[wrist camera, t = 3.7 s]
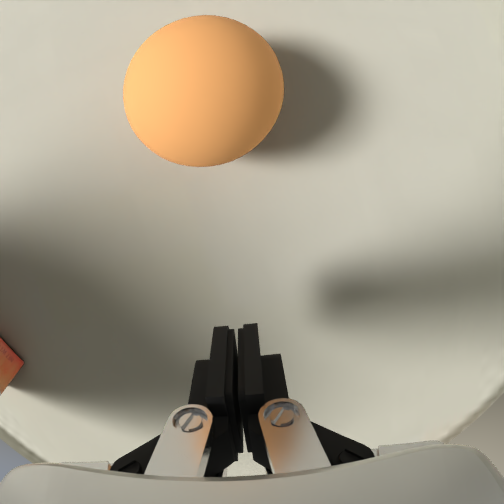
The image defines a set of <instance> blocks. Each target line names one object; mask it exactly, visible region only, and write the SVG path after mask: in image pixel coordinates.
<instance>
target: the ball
mask: <svg viewBox="0 0 504 504" xmlns="http://www.w3.org/2000/svg"><path fill="white" fill-rule="evenodd" d="M283 96H284V80H283V75H282V70H281V67H280V64H279V61H278V59H277V57H276V55H275V53H274V51H273V50H272V48H271V47H270V45H269V44H268V43H267V42H266V41H265V40H264V39H263V37H262V36H260V35H259V34H258V33H257V32H255V31H254V30H253V29H251V28H249V27H248V26H246V25H244V24H242V23H240V22H238V21H236V20H233V19H229V18H226V17H220V16H212V15H202V16H193V17H188V18H183V19H180V20H177V21H175V22H172V23H170V24H168V25H166V26H164V27H163V28H161V29H159V30H158V31H156V32H155V33H154V34H153V35H151V36H150V37H149V38H148V39H147V40H146V41H145V42H144V43H143V44H142V45H141V47H140V48H139V49H138V50H137V52H136V53H135V55H134V57H133V58H132V60H131V62H130V65H129V67H128V69H127V73H126V76H125V80H124V88H123V99H124V107H125V112H126V115H127V118H128V121H129V123H130V125H131V127H132V129H133V131H134V132H135V134H136V135H137V137H138V138H139V139H140V140H141V141H142V142H143V144H144V145H146V146H147V147H148V148H149V149H150V150H151V151H153V152H154V153H156V154H157V155H159V156H160V157H162V158H164V159H166V160H168V161H171V162H174V163H177V164H181V165H186V166H194V167H206V166H215V165H220V164H224V163H227V162H230V161H233V160H235V159H237V158H239V157H241V156H243V155H245V154H246V153H248V152H250V151H251V150H252V149H253V148H255V147H256V146H257V145H258V144H259V143H260V142H261V141H262V140H263V139H264V138H265V137H266V136H267V134H268V133H269V132H270V130H271V129H272V127H273V126H274V124H275V122H276V120H277V118H278V115H279V113H280V110H281V106H282V103H283Z"/></svg>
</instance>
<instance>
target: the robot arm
mask: <svg viewBox="0 0 504 504" xmlns="http://www.w3.org/2000/svg"><path fill="white" fill-rule="evenodd" d="M243 428H244V434H245V440H246V445H247V450H248V452H252V454H253V460H254V461H256V462H257V463H259V464H260V465H262V466H264V467H265V472H266V475H255V476H237V477H227V467H228V466H229V465H231V464H232V463H233V462H234V461H238V453H243ZM0 504H504V478H503V476H502V475H501V473H500V472H499V471H498V469H497V468H496V467H495V465H494V464H493V463H492V462H491V461H490V459H489V458H488V457H487V456H486V455H484V454H483V453H482V452H481V451H479V450H478V449H476V448H474V447H471V446H467V445H460V444H444V443H442V442H440V441H423V442H415V443H405V444H395V445H381V446H378V449H370V448H369V447H367V446H365V445H363V444H361V443H359V442H356V441H354V440H351V439H349V438H347V437H344V436H342V435H340V434H338V433H335V432H333V431H331V430H329V429H326V428H324V427H322V426H320V425H318V424H316V423H314V422H311V421H310V419H309V417H308V415H307V413H306V411H305V409H304V407H303V406H302V405H301V404H300V403H299V402H297V401H295V400H292V399H289V397H288V392H287V386H286V381H285V375H284V370H283V364H282V359H281V354H273V355H264V356H260V346H259V336H258V326H257V323H255V324H244V325H243V328H240V329H238V353H237V346H236V339H235V332H234V329H229V327H228V326H220V327H214V330H213V338H212V345H211V353H210V360H197V361H196V363H195V368H194V374H193V379H192V385H191V391H190V396H189V402H188V405H184V406H181V407H179V408H177V409H175V410H174V411H173V412H172V413H171V414H170V416H169V417H168V419H167V422H166V424H165V426H164V429H163V431H162V433H161V434H160V435H158V436H157V437H155V438H154V439H152V440H150V441H149V442H147V443H145V444H143V445H142V446H140V447H138V448H137V449H135V450H133V451H131V452H130V453H128V454H126V455H124V456H123V457H121V458H119V459H118V460H117V461H115V462H114V464H110V463H109V462H108V461H100V462H62V463H34V464H26V465H22V466H18V467H16V468H14V469H12V470H11V471H10V472H9V473H8V474H7V475H6V476H5V477H4V479H3V480H2V481H1V483H0Z"/></svg>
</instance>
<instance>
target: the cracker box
mask: <svg viewBox="0 0 504 504" xmlns="http://www.w3.org/2000/svg"><path fill="white" fill-rule="evenodd" d="M23 364H24V362H23V361H22V360H21V359H20V358H19V357H18V356H17V355H16V354H15V353H14V352H13V351H12V349H11V348H10V347H9V346H8V345H7V344H6V343H5V342H4V341H3V340H2V339H1V337H0V395H1V394H2V393H3V391H4V390H5V389H6V387H7V386H8V384H9V383H10V382H11V380H12V379H13V378H14V376H15V375H16V374H17V372H18V371H19V370H20V368H21V367H22V366H23Z"/></svg>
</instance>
